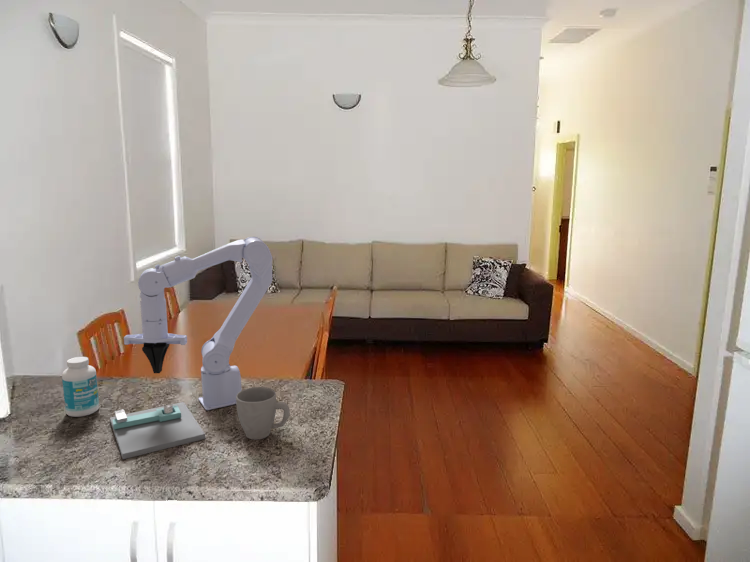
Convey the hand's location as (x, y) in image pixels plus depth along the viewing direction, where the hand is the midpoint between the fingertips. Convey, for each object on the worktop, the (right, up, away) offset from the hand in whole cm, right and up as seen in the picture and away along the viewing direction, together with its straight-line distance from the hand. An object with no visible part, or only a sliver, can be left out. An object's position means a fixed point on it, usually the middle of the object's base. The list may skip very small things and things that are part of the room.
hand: (157, 371), depth 137 cm
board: (+3, -12, -9) cm, 15 cm away
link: (0, -10, -7) cm, 12 cm away
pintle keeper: (0, -11, -6) cm, 13 cm away
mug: (+28, -13, -11) cm, 33 cm away
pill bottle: (-19, -10, +1) cm, 21 cm away
